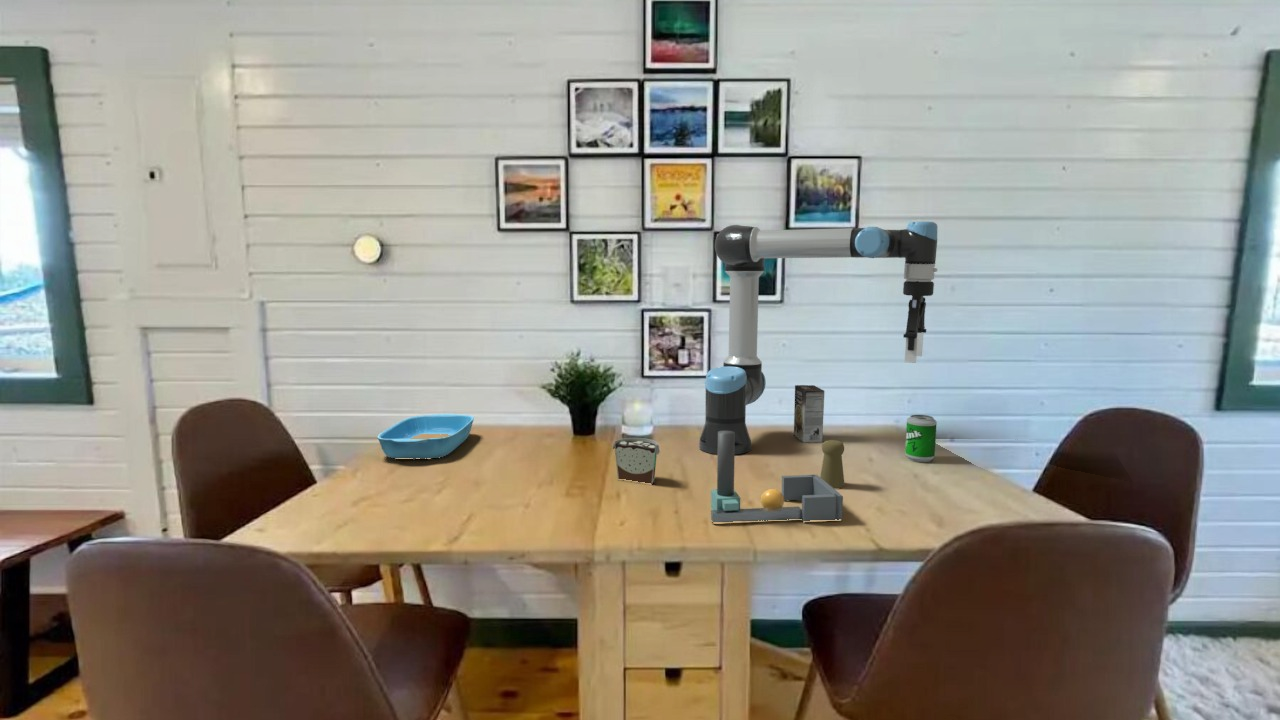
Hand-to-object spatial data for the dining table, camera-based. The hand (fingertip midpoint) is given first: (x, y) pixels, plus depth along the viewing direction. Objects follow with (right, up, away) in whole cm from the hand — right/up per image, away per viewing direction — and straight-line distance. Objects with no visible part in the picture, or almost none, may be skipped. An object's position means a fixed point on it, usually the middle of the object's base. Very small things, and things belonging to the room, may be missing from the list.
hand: (913, 359), depth 185 cm
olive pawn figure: (-27, -31, -19) cm, 45 cm away
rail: (-50, -34, -42) cm, 73 cm away
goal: (-37, -33, -35) cm, 61 cm away
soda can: (+3, -28, +3) cm, 28 cm away
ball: (-45, -33, -36) cm, 67 cm away
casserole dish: (-137, -27, +18) cm, 141 cm away
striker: (-56, -33, -39) cm, 76 cm away
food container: (-74, -31, -14) cm, 81 cm away
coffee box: (-22, -25, +26) cm, 42 cm away
